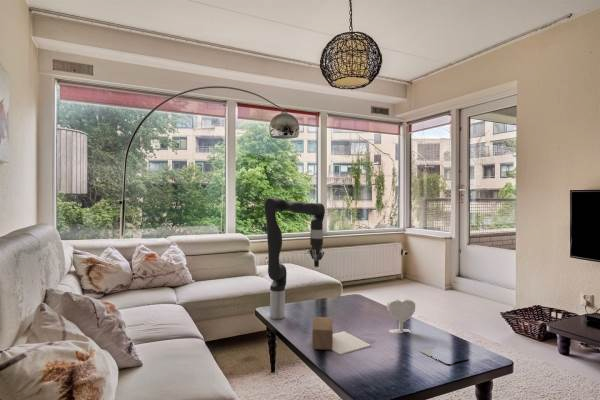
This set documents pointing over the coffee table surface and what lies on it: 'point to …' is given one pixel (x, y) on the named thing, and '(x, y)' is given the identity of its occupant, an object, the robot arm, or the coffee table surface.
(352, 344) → the mat
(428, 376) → the coffee table surface
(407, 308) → the heart sculpture
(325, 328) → the block
